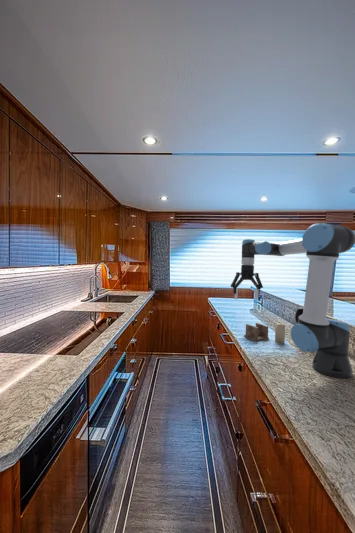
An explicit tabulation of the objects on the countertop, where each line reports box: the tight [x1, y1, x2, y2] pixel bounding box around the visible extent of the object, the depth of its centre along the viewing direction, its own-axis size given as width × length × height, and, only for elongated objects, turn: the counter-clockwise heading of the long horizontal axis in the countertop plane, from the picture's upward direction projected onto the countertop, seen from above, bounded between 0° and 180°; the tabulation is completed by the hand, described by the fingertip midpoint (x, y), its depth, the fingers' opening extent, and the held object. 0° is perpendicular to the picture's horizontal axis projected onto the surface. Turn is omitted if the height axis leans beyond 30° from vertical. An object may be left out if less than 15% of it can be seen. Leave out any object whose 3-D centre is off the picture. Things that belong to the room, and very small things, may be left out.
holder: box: [244, 322, 270, 343], centre depth 148 cm, size 10×11×8 cm
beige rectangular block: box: [274, 322, 286, 345], centre depth 142 cm, size 5×5×11 cm
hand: (246, 299), depth 142 cm, fingers open, 13 cm apart
